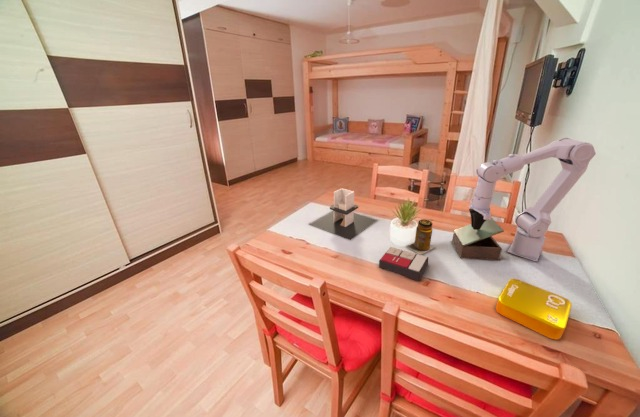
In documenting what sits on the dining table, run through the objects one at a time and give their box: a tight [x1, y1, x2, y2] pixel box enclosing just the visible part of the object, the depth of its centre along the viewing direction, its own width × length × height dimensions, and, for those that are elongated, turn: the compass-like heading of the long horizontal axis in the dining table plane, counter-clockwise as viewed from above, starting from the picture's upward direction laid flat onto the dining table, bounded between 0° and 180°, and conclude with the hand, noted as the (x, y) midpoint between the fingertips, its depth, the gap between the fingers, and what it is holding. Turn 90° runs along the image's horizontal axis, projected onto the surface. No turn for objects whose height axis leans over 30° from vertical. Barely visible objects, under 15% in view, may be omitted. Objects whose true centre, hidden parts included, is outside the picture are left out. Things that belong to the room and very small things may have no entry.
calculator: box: [378, 246, 430, 282], centre depth 98 cm, size 11×4×15 cm
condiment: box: [406, 218, 434, 256], centre depth 107 cm, size 7×8×12 cm
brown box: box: [451, 231, 503, 261], centre depth 105 cm, size 14×12×5 cm
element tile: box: [495, 278, 572, 341], centre depth 76 cm, size 15×15×5 cm
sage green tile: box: [453, 216, 505, 246], centre depth 102 cm, size 14×12×1 cm
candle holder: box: [309, 188, 378, 241], centre depth 129 cm, size 25×24×16 cm
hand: (475, 228), depth 102 cm, fingers closed
